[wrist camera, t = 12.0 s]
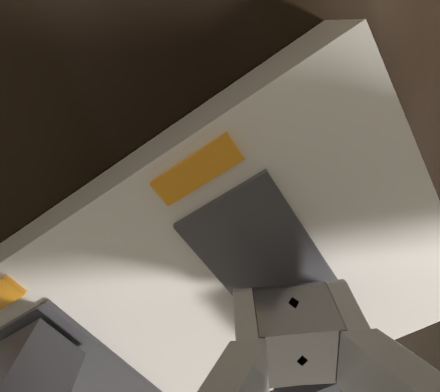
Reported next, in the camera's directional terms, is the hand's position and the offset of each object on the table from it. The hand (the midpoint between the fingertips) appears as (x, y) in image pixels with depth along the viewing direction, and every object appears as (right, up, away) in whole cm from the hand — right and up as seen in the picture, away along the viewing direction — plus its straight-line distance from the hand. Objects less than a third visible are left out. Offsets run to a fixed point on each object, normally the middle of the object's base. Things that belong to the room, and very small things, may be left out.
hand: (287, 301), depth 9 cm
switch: (-8, -2, +2) cm, 8 cm away
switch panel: (-7, -2, +6) cm, 9 cm away
